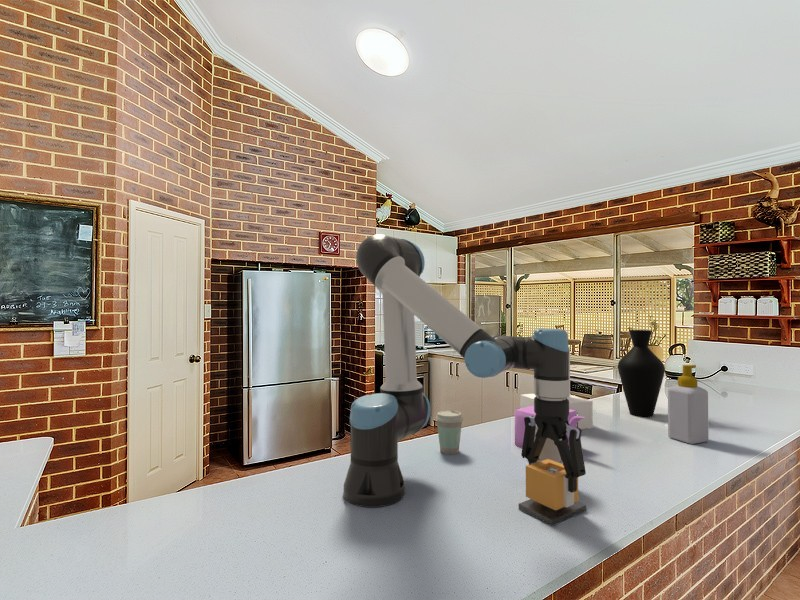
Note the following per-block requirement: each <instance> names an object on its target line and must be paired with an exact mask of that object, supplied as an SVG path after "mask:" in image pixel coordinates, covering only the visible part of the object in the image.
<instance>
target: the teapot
mask: <svg viewBox="0 0 800 600" xmlns="http://www.w3.org/2000/svg"><path fill="white" fill-rule="evenodd" d="M535 415H536V413H535V412H534V406H530V407H525V408H518V409H514V446H515V445H516V446H515V447H518V446H519V448H521V447H522V446H523V439H524V432H525V422H524V418H525V417H529V416H534V417H535ZM584 418H585V417H581V416H578V414H577V411H576V410H571V409H569V416H568V422H569V425H570V426H571V427H573V428H578V421H579V420H581V419H584ZM566 435H568V432H566ZM567 438H568V441H569V437H568V436H567ZM568 445H569V442H568ZM569 448H570V445H569Z"/></svg>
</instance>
